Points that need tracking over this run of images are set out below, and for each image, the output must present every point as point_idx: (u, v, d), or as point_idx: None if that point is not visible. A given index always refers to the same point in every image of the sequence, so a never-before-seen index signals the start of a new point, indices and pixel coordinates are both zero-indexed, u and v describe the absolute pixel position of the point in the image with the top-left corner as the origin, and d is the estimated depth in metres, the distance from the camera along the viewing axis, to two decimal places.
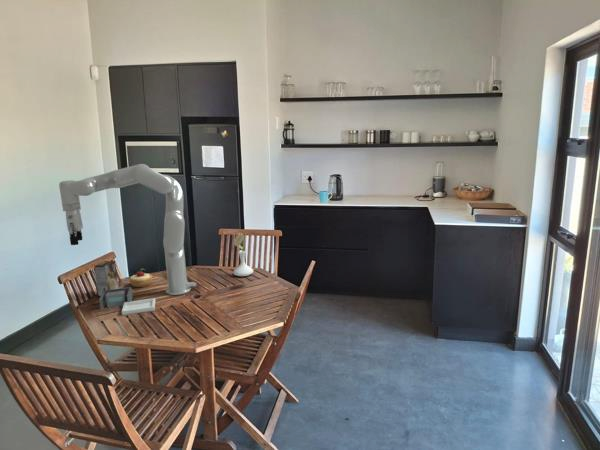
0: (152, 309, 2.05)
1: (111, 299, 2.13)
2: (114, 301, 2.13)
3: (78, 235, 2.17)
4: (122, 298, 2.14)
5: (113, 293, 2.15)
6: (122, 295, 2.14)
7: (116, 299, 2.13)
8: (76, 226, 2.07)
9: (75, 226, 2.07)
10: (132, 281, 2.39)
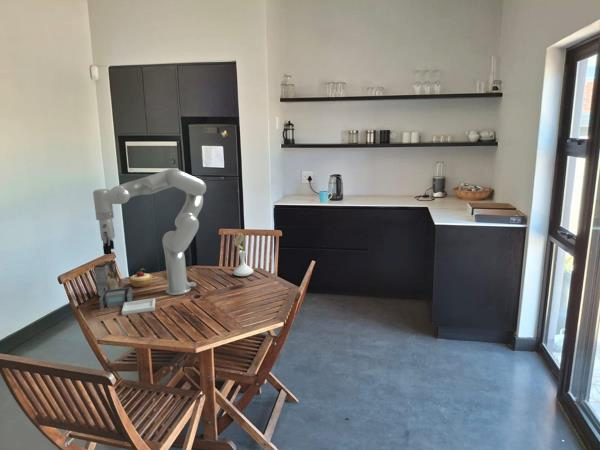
0: (152, 309, 2.05)
1: (111, 299, 2.13)
2: (114, 301, 2.13)
3: (110, 244, 2.15)
4: (122, 298, 2.14)
5: (113, 293, 2.15)
6: (122, 295, 2.14)
7: (116, 299, 2.13)
8: (110, 235, 2.05)
9: (109, 235, 2.05)
10: (132, 281, 2.39)
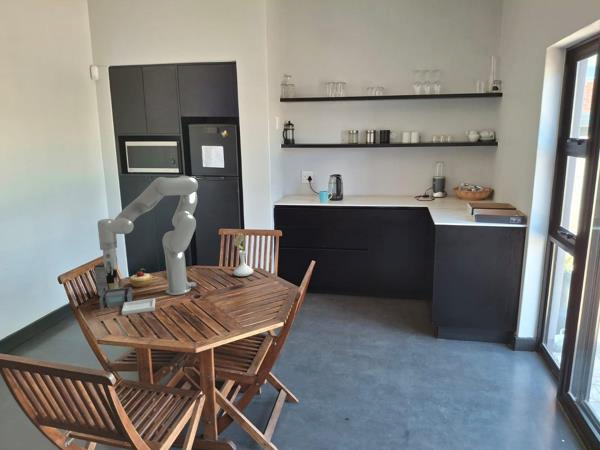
0: (152, 309, 2.05)
1: (111, 299, 2.13)
2: (114, 301, 2.13)
3: (113, 272, 2.17)
4: (122, 298, 2.14)
5: (113, 293, 2.15)
6: (122, 295, 2.14)
7: (116, 299, 2.13)
8: (113, 265, 2.08)
9: (112, 265, 2.07)
10: (132, 281, 2.39)
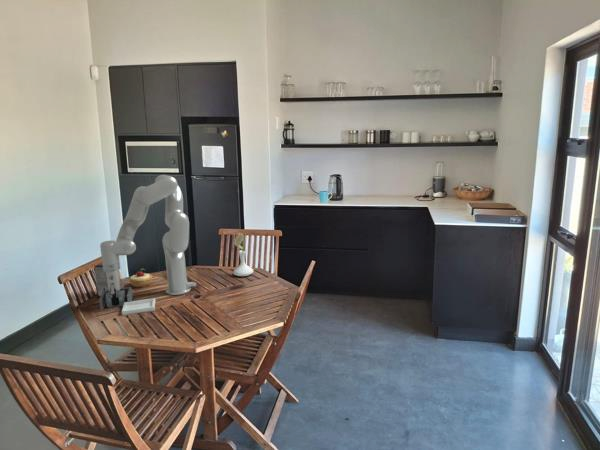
0: (152, 309, 2.05)
1: None
2: None
3: None
4: (122, 298, 2.14)
5: None
6: (122, 295, 2.14)
7: None
8: (117, 286, 2.10)
9: (116, 288, 2.10)
10: (132, 281, 2.39)
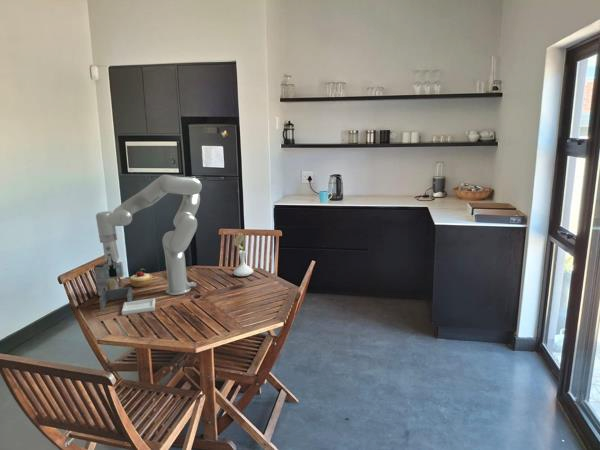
0: (152, 309, 2.05)
1: None
2: None
3: None
4: (119, 269, 2.11)
5: None
6: (119, 266, 2.11)
7: None
8: (114, 257, 2.07)
9: (113, 260, 2.08)
10: (132, 281, 2.39)
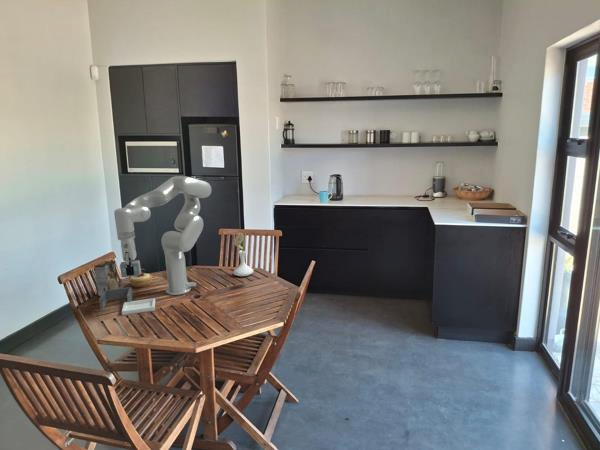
0: (152, 309, 2.05)
1: None
2: None
3: None
4: (137, 268, 2.05)
5: None
6: (137, 265, 2.05)
7: None
8: (131, 255, 2.01)
9: (131, 257, 2.02)
10: (132, 281, 2.39)
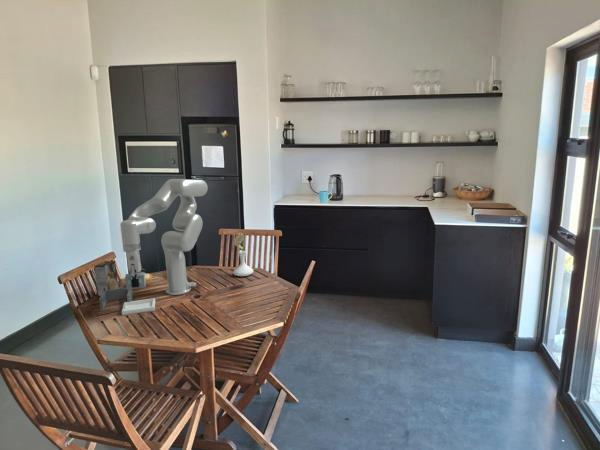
0: (152, 309, 2.05)
1: None
2: None
3: None
4: (142, 280, 2.05)
5: None
6: (142, 277, 2.05)
7: None
8: (137, 267, 2.01)
9: (136, 270, 2.01)
10: None
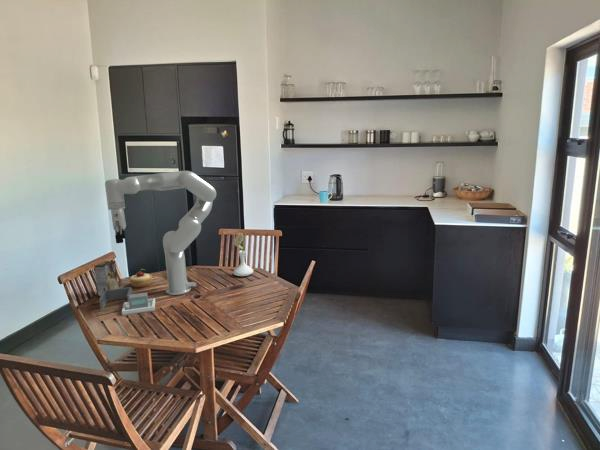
0: (152, 309, 2.05)
1: (134, 301, 2.06)
2: (137, 303, 2.07)
3: (121, 233, 2.19)
4: (145, 300, 2.07)
5: (136, 295, 2.08)
6: (145, 297, 2.07)
7: (139, 302, 2.07)
8: (121, 224, 2.09)
9: (120, 224, 2.09)
10: (132, 281, 2.38)
